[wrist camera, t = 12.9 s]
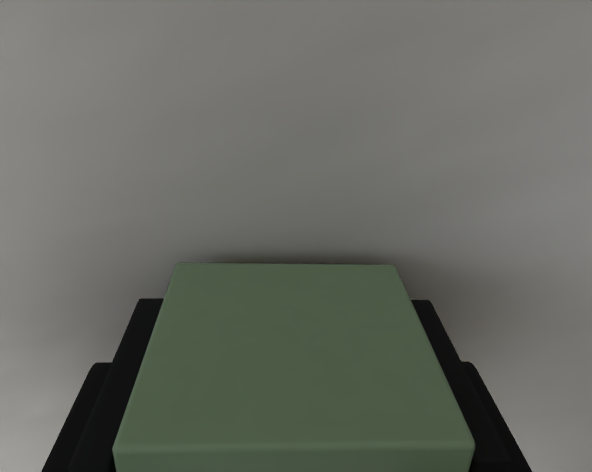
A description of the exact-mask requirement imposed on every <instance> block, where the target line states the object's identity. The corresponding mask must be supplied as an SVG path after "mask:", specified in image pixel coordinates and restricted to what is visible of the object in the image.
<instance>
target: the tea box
mask: <svg viewBox="0 0 592 472" xmlns="http://www.w3.org/2000/svg"><path fill="white" fill-rule="evenodd" d="M112 451H113V456H114V462H115V467H116V472H468V471H469V468H470V464H471V461H472V457H473V454H474V451H475V442H474V439H473V437H472V434H471V432H470V430H469V428H468V426H467V423H466V421H465V419H464V417H463V415H462V412H461V410H460V408H459V406H458V404H457V401H456V399H455V397H454V395H453V392H452V390H451V388H450V386H449V384H448V381H447V379H446V377H445V375H444V373H443V370H442V368H441V366H440V364H439V362H438V359H437V357H436V355H435V353H434V351H433V348H432V346H431V344H430V342H429V340H428V337H427V335H426V333H425V331H424V328H423V326H422V324H421V322H420V320H419V317H418V315H417V313H416V311H415V309H414V306H413V304H412V302H411V300H410V298H409V295H408V293H407V291H406V289H405V287H404V284H403V282H402V280H401V278H400V276H399V273H398V271H397V269H396V267H395V266H394V265H359V264H251V263H178V264H176V266H175V268H174V271H173V274H172V277H171V280H170V283H169V286H168V288H167V291H166V294H165V297H164V300H163V303H162V306H161V309H160V312H159V315H158V317H157V320H156V323H155V326H154V329H153V332H152V335H151V338H150V341H149V344H148V346H147V349H146V352H145V355H144V358H143V361H142V364H141V367H140V370H139V373H138V375H137V378H136V381H135V384H134V387H133V390H132V393H131V396H130V399H129V402H128V404H127V407H126V410H125V413H124V416H123V419H122V422H121V425H120V428H119V431H118V433H117V436H116V439H115V442H114V445H113V448H112Z"/></svg>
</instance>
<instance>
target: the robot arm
mask: <svg viewBox="0 0 592 472" xmlns="http://www.w3.org/2000/svg"><path fill="white" fill-rule="evenodd" d="M163 300H164V299H139V301H138V303H137V305H136V307H135V310H134V312H133V314H132V317H131V319H130V322H129V324H128V326H127V329H126V331H125V333H124V336H123V338H122V340H121V343H120V345H119V347H118V350H117V352H116V354H115V357H114V359H113V362H112V363H95V364H94V365H93V366H92V367H91V369H90V371H89V373H88V375H87V377H86V379H85V381H84V383H83V385H82V387H81V389H80V392H79V394H78V396H77V398H76V400H75V402H74V404H73V406H72V408H71V411H70V413H69V415H68V417H67V419H66V421H65V423H64V425H63V427H62V429H61V432H60V434H59V436H58V438H57V440H56V442H55V444H54V446H53V448H52V450H51V453H50V455H49V457H48V459H47V461H46V463H45V465H44V467H43V469H42V472H116V467H115V462H114V456H113V451H112V448H113V445H114V442H115V439H116V436H117V433H118V431H119V428H120V425H121V422H122V419H123V416H124V413H125V410H126V407H127V404H128V402H129V399H130V396H131V393H132V390H133V387H134V384H135V381H136V378H137V375H138V373H139V370H140V367H141V364H142V361H143V358H144V355H145V352H146V349H147V346H148V344H149V341H150V338H151V335H152V332H153V329H154V326H155V323H156V320H157V317H158V315H159V312H160V309H161V306H162V303H163ZM411 302H412V304H413V306H414V309H415V311H416V313H417V315H418V317H419V320H420V322H421V324H422V326H423V328H424V331H425V333H426V335H427V337H428V340H429V342H430V344H431V346H432V348H433V351H434V353H435V355H436V357H437V359H438V362H439V364H440V366H441V368H442V370H443V373H444V375H445V377H446V379H447V381H448V384H449V386H450V388H451V390H452V392H453V395H454V397H455V399H456V401H457V404H458V406H459V408H460V410H461V412H462V415H463V417H464V419H465V421H466V423H467V426H468V428H469V430H470V432H471V434H472V437H473V439H474V442H475V451H474V454H473V457H472V461H471V464H470V468H469V471H468V472H532V471H531V469H530V467H529V465H528V463H527V461H526V459H525V458H524V456H523V454H522V452H521V450H520V448H519V447H518V445H517V443H516V441H515V439H514V437H513V435H512V434H511V432H510V430H509V428H508V426H507V424H506V423H505V421H504V419H503V417H502V415H501V413H500V412H499V410H498V408H497V406H496V404H495V402H494V400H493V399H492V397H491V395H490V393H489V391H488V389H487V388H486V386H485V384H484V382H483V380H482V378H481V377H480V375H479V373H478V371H477V369H476V368H475V366H474V365H473V364H472V363H470V362H461V360H460V358H459V356H458V354H457V352H456V350H455V348H454V347H453V345H452V343H451V341H450V339H449V337H448V335H447V333H446V331H445V329H444V327H443V325H442V323H441V321H440V319H439V317H438V315H437V313H436V311H435V309H434V307H433V306H432V304H431V302H430V301H429V300H411Z"/></svg>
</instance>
